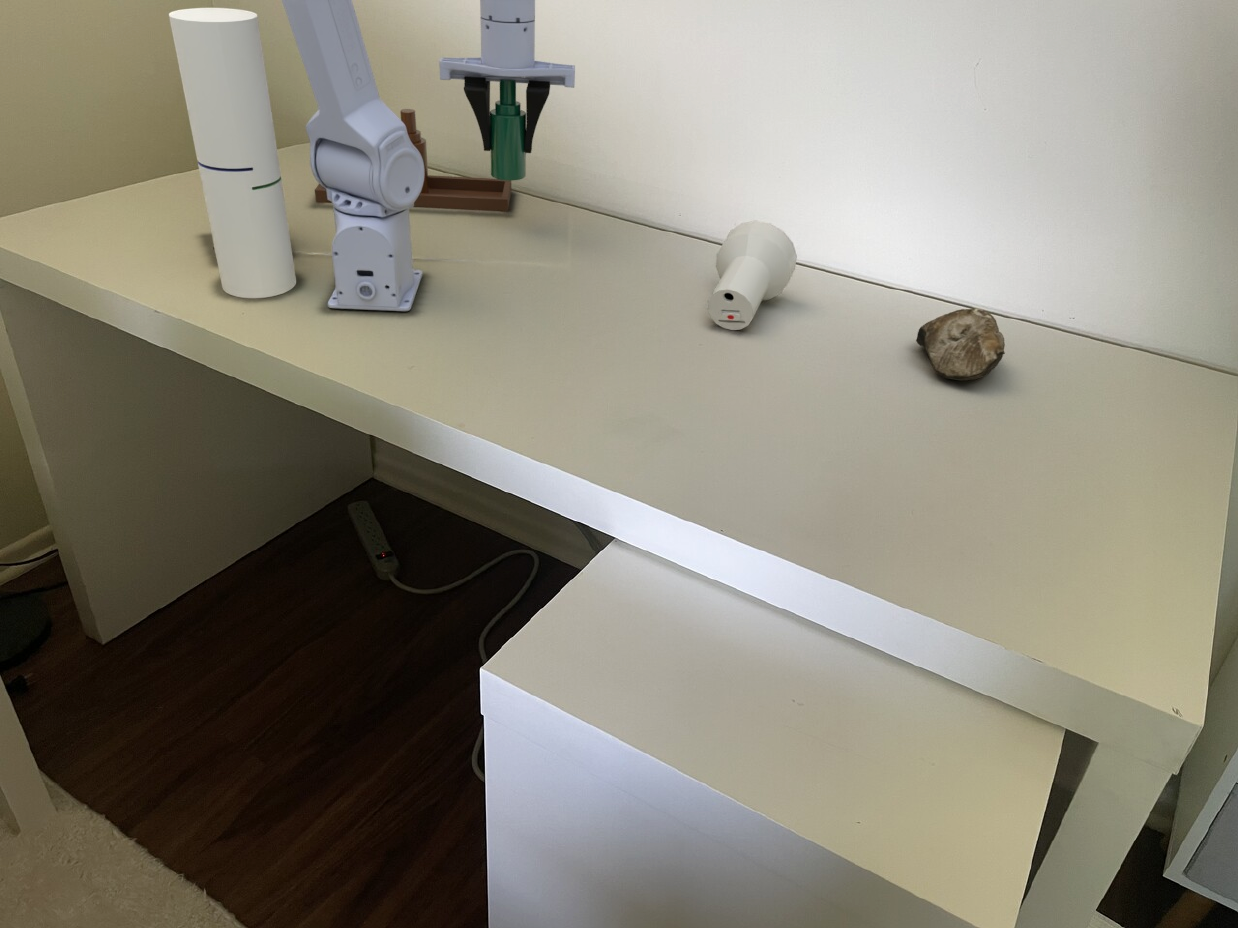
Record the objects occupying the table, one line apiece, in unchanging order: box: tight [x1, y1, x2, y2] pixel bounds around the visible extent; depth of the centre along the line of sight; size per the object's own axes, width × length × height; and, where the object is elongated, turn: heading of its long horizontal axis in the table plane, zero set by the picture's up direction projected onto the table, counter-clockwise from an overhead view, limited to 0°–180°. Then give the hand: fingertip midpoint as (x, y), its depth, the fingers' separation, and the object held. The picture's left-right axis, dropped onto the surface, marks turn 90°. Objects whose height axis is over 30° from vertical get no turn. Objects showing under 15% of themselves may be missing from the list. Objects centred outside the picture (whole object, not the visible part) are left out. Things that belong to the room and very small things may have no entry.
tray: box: [314, 174, 512, 213], centre depth 117 cm, size 8×24×2 cm, turn 92°
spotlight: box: [706, 220, 798, 331], centre depth 93 cm, size 8×11×8 cm
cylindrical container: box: [168, 7, 297, 299], centre depth 86 cm, size 7×7×25 cm
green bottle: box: [490, 79, 527, 182], centre depth 102 cm, size 4×4×10 cm
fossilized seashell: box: [915, 308, 1006, 382], centre depth 87 cm, size 8×7×10 cm
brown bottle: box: [399, 108, 429, 194], centre depth 114 cm, size 4×4×10 cm
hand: (508, 149), depth 104 cm, fingers closed on green bottle, 4 cm apart
